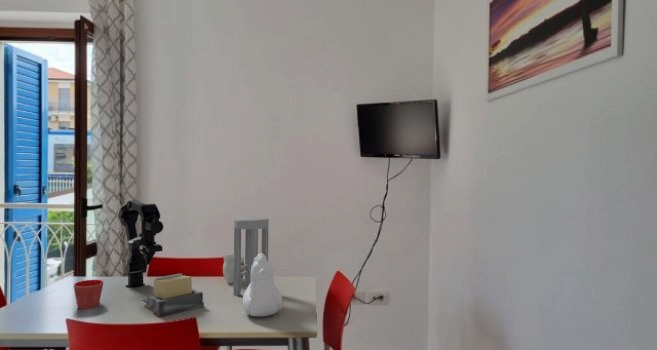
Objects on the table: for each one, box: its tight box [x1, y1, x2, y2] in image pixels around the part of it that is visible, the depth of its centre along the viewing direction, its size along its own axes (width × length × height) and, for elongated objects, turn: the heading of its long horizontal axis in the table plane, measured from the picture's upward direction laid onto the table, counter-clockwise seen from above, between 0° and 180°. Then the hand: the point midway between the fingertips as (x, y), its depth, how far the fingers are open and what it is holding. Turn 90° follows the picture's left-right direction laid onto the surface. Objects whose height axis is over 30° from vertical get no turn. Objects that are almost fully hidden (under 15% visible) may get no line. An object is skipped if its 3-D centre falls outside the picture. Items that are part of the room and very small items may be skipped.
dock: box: [141, 288, 205, 318], centre depth 179 cm, size 29×19×7 cm, turn 45°
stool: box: [233, 216, 270, 297], centre depth 194 cm, size 16×16×35 cm
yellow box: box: [153, 273, 193, 300], centre depth 174 cm, size 10×12×10 cm
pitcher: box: [222, 254, 245, 285], centre depth 213 cm, size 11×18×14 cm, turn 174°
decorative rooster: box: [242, 252, 283, 317], centre depth 170 cm, size 25×16×25 cm, turn 3°
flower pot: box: [73, 279, 104, 310], centre depth 174 cm, size 11×11×10 cm
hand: (147, 264), depth 193 cm, fingers closed
